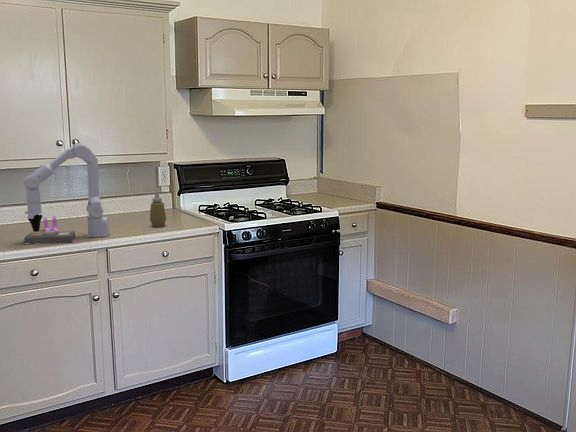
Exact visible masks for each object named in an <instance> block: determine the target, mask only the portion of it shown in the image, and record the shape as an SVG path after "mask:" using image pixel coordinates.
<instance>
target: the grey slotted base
mask: <svg viewBox="0 0 576 432" xmlns="http://www.w3.org/2000/svg"><path fill="white" fill-rule="evenodd" d="M44 232H45V231H44ZM44 232H42V233H43V235H42V236H30V235H32V234H36V233H37V232H30V233H28V234H27V235H25V237H24V238H23V239H24V244H25V243H46V244H69V243H72V242H73V241H74V240H75V239H76V236H77V235H76V231H75V230H73V231H72V230H71V231H69V232H70V234H69V235H58V234H59V233H66V232H67V231H59V232H56V235H55V236H44Z"/></svg>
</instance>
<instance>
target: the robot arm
mask: <svg viewBox="0 0 576 432" xmlns="http://www.w3.org/2000/svg"><path fill="white" fill-rule="evenodd" d="M76 158H78V159H80V160H81V161H83V162H84V163H85V164H86V168H87V169H86V170H87V190H88V200H87V201H88V203H87V205H86V212H87V213H88V215H87V218H86V219H87V230H88V231H87V232H88V233H87V235H86V238H97V237H98V238H101V237H105V238H107V237H108V235H110V224H109V217H108V216H104V215H103V213H104V209H103V207H102V204H101V199H100V181H99V179H100V178H99V161H98V158H97V157H96V156H95V154H94V152H92V150H91V149H90V148H89V147H87V146H86V145H85V144H83V143H78V142H76V143H74V144H73V145H72V146H70V147H68V148H67V149H65V150H63V152H61V153H60V154H59V155H57V157H55V158H54V159H53V160H51V162H50V163H43V164H40V165H39V166H38V168H37V169H35V171H31V173H30V175H27V176H26V177H25V179H24V183H23V184H24V185H25V186H26V187H25V198H26V206H27V207H26V208H27V211H25V212H24V214H25V215H26V214H27V220H28V222H29V223H30V225H31V227H32V231H33V233H39V232H40V228H41V222H42V219H43V217H44V216H43V214H42V213H43V211H42V204H41V203H42V201H41V192H40V187H39V186H40V185H41V183H43V182H45V181H46V180H47V179H48V178H50V177H51V176H52V175H54V170H55V169H56V168H58V167H59V166H60V165H62V164H63V163H64V162H66V161H68V160H72V159H76Z"/></svg>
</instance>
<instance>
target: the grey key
mask: <svg viewBox="0 0 576 432" xmlns="http://www.w3.org/2000/svg"><path fill="white" fill-rule="evenodd" d="M55 235H56V230H46V231H45V230H44V236H55Z"/></svg>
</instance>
